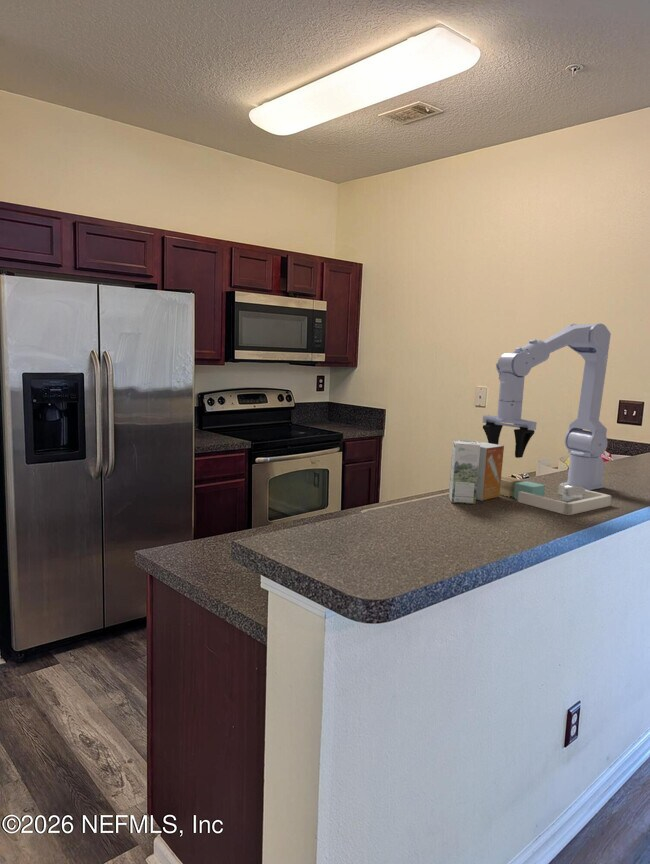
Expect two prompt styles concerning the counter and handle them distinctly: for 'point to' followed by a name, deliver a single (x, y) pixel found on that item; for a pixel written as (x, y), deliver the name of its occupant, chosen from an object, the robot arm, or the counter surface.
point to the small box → (489, 471)
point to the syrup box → (464, 471)
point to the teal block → (529, 488)
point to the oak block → (508, 486)
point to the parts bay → (588, 503)
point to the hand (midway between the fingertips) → (505, 454)
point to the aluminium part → (572, 492)
